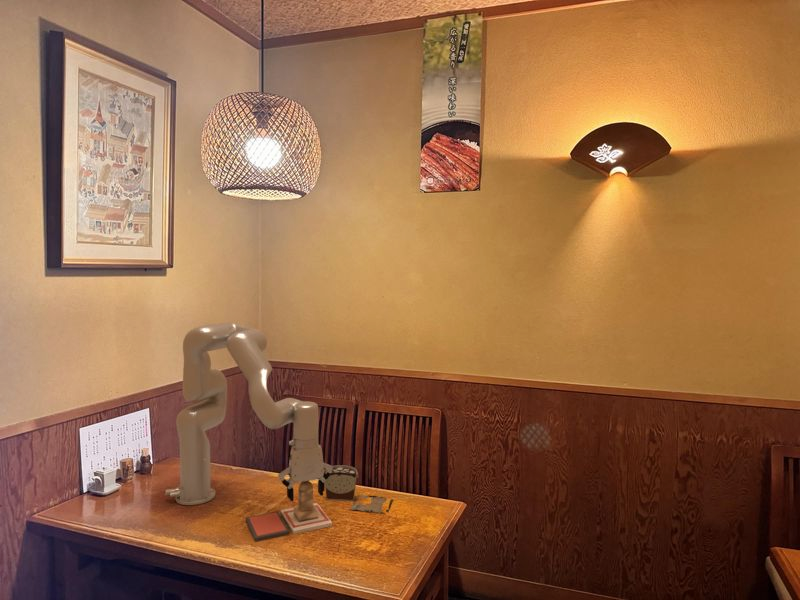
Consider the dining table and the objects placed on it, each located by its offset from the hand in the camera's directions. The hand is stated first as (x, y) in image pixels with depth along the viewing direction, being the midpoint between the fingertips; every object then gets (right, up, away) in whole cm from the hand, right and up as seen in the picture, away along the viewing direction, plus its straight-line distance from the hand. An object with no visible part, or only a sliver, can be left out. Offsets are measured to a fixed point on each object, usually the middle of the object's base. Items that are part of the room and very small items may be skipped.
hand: (305, 496), depth 167 cm
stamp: (0, -6, 0) cm, 6 cm away
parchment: (+20, -7, +12) cm, 24 cm away
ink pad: (-11, -7, -5) cm, 14 cm away
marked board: (0, -7, 0) cm, 7 cm away
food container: (+9, -7, +17) cm, 21 cm away
